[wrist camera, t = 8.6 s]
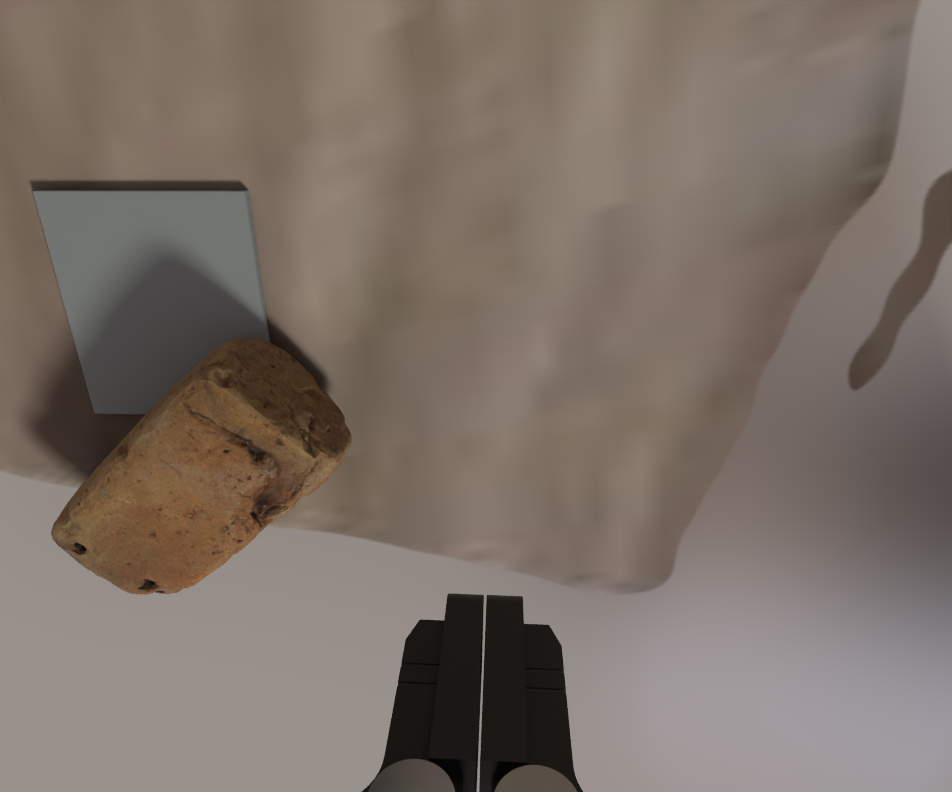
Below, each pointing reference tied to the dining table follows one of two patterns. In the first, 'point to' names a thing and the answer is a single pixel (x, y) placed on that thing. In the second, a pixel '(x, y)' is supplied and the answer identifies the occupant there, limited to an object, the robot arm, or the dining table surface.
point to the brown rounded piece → (205, 470)
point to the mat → (152, 284)
